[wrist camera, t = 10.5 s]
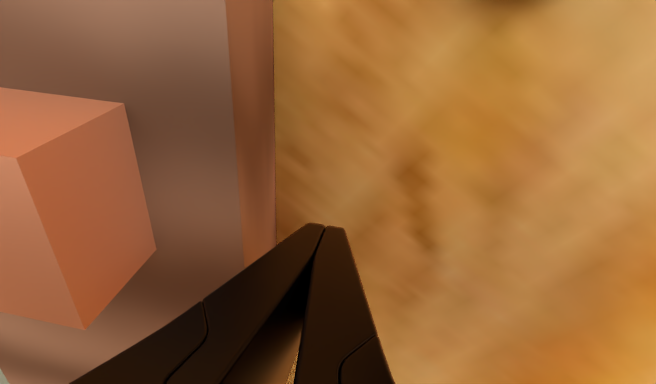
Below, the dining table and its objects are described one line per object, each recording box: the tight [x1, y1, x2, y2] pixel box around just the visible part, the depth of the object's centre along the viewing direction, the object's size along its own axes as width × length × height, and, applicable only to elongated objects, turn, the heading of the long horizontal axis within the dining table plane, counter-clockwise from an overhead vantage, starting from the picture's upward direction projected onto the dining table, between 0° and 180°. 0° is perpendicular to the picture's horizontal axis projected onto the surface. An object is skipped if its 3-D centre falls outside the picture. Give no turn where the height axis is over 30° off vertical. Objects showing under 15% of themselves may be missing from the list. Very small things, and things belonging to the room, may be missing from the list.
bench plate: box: [0, 0, 276, 384], centre depth 15 cm, size 20×12×3 cm, turn 177°
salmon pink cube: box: [0, 87, 156, 330], centre depth 10 cm, size 4×4×3 cm
